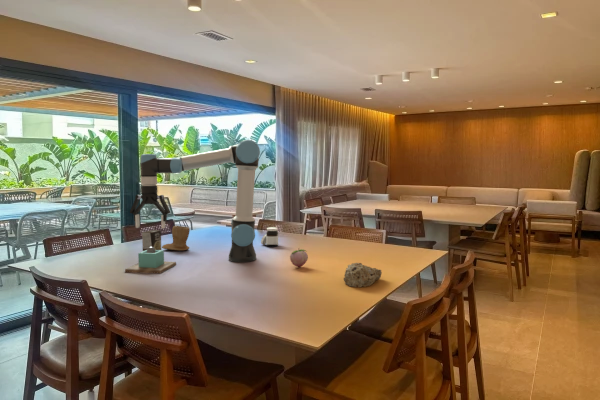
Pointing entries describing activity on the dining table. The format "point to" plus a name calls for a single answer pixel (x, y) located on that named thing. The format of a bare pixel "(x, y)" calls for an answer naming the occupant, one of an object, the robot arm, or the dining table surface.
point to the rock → (361, 275)
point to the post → (151, 250)
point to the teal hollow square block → (151, 259)
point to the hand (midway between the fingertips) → (150, 227)
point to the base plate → (159, 269)
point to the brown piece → (178, 239)
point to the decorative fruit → (299, 257)
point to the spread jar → (270, 237)
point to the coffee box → (151, 239)
